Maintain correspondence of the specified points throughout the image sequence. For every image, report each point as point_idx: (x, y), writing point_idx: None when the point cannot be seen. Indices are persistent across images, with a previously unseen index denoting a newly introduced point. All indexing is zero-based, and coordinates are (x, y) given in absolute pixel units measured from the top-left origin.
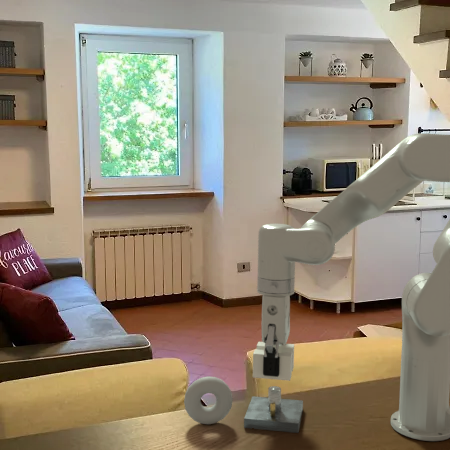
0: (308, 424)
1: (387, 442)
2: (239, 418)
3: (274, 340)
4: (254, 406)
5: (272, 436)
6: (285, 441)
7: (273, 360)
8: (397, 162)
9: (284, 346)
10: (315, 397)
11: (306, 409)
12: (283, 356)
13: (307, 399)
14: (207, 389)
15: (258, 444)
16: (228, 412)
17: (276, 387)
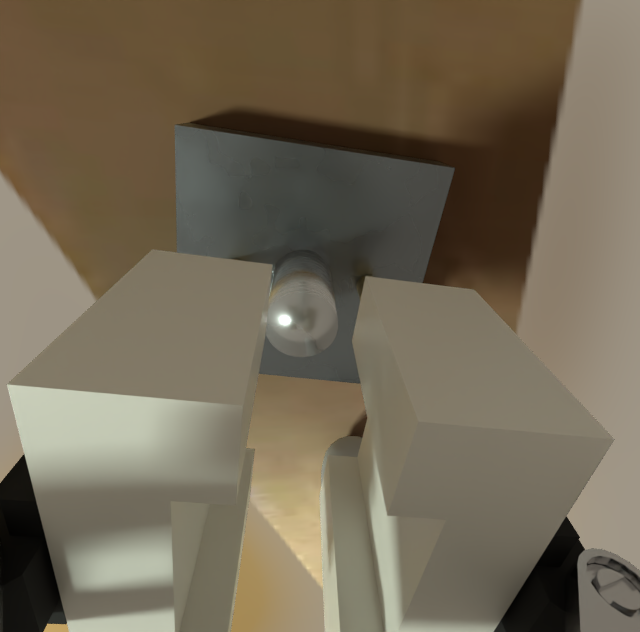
0: (355, 103)
1: None
2: (311, 380)
3: (29, 624)
4: (281, 355)
5: (458, 270)
6: (506, 221)
7: (575, 555)
8: None
9: (168, 502)
10: (2, 25)
11: (183, 100)
12: (562, 507)
13: (50, 83)
14: None
15: (512, 317)
16: (360, 439)
17: (283, 317)
